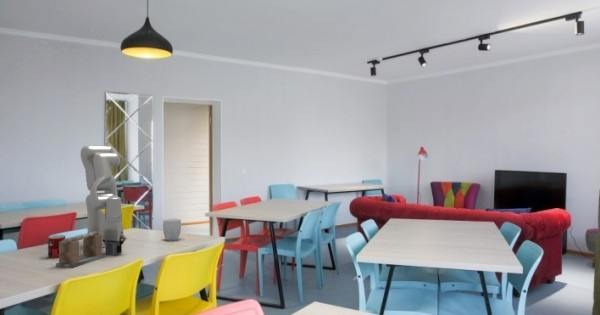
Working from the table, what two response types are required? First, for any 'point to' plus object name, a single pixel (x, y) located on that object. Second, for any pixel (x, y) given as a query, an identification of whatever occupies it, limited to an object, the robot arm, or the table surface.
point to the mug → (171, 228)
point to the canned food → (54, 245)
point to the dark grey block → (111, 248)
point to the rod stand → (71, 250)
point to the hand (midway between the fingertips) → (113, 251)
